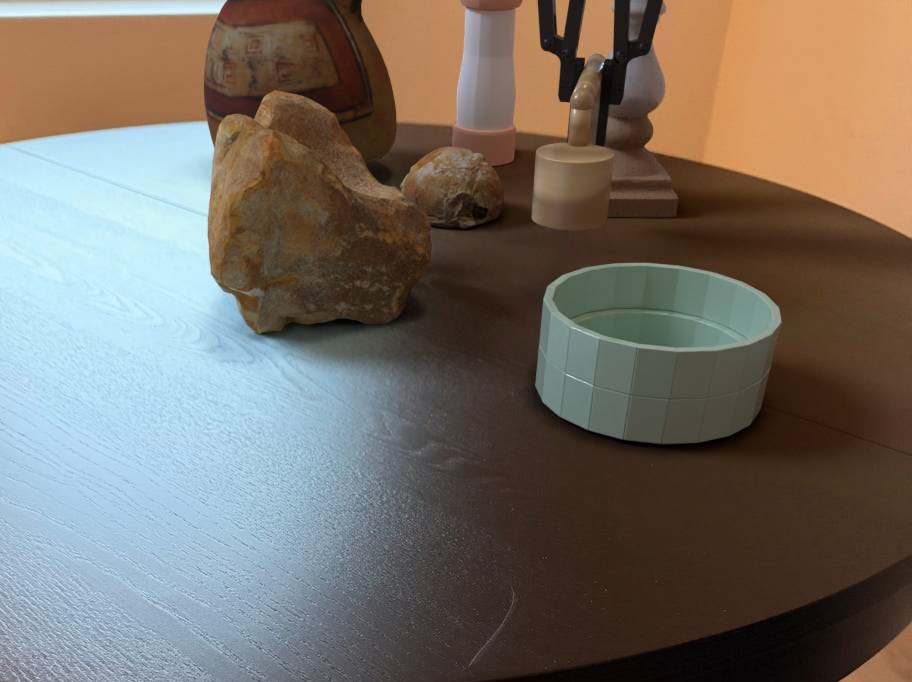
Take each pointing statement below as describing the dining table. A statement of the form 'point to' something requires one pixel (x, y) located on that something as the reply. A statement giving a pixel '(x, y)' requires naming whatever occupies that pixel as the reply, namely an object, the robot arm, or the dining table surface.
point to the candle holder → (638, 136)
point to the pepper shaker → (487, 81)
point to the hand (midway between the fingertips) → (586, 143)
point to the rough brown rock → (308, 222)
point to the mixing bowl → (655, 352)
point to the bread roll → (455, 188)
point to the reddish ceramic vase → (301, 66)
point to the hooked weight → (575, 164)
